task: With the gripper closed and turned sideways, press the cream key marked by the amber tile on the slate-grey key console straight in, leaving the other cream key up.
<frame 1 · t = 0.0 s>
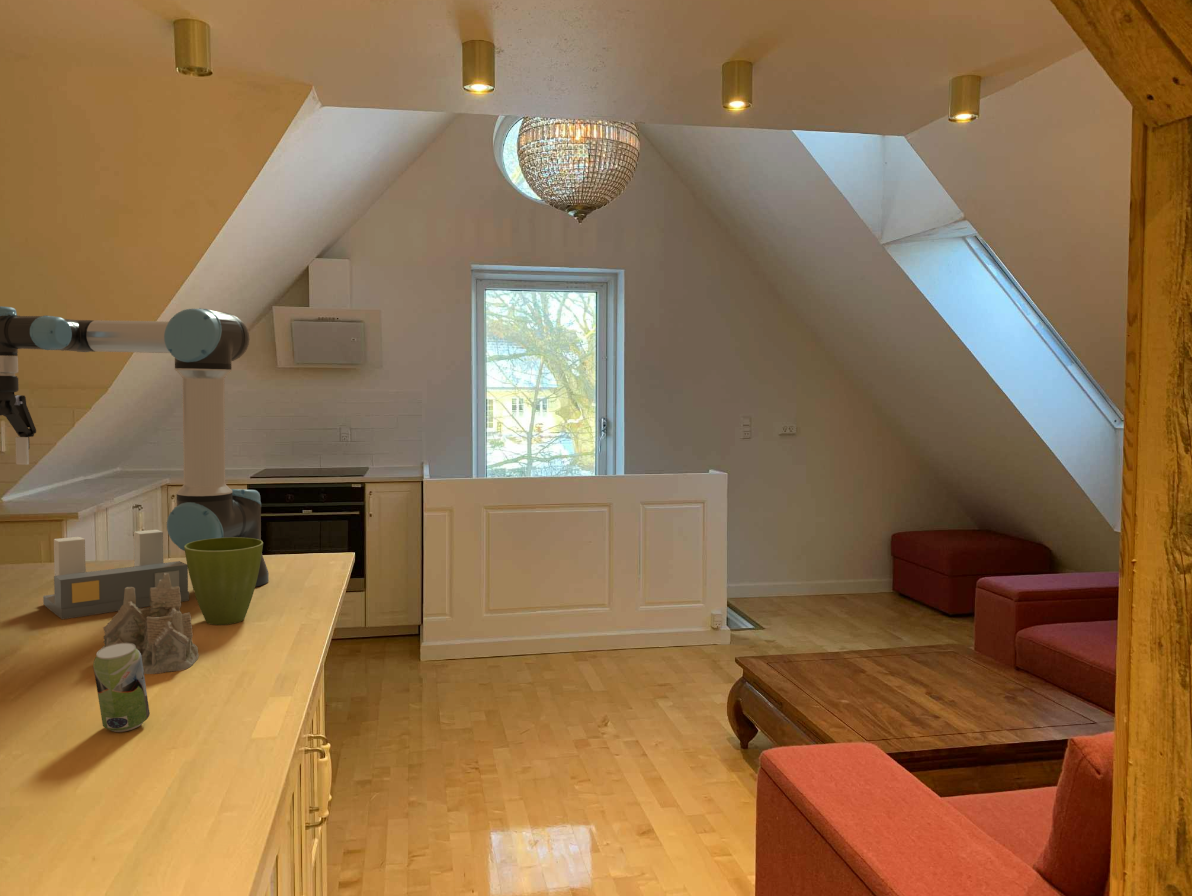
hand: (1, 467, 207), 28 cm above the worktop, fingers open, 13 cm apart
key 2: (148, 557, 205), point 8 cm above the worktop, slide at 0.0 cm
key console: (116, 602, 197), on the worktop
ceramic cottage: (147, 662, 158), on the worktop
flower pot: (224, 621, 185), on the worktop
key 1: (69, 566, 194), point 8 cm above the worktop, slide at 0.0 cm
beverage can: (122, 729, 128), on the worktop
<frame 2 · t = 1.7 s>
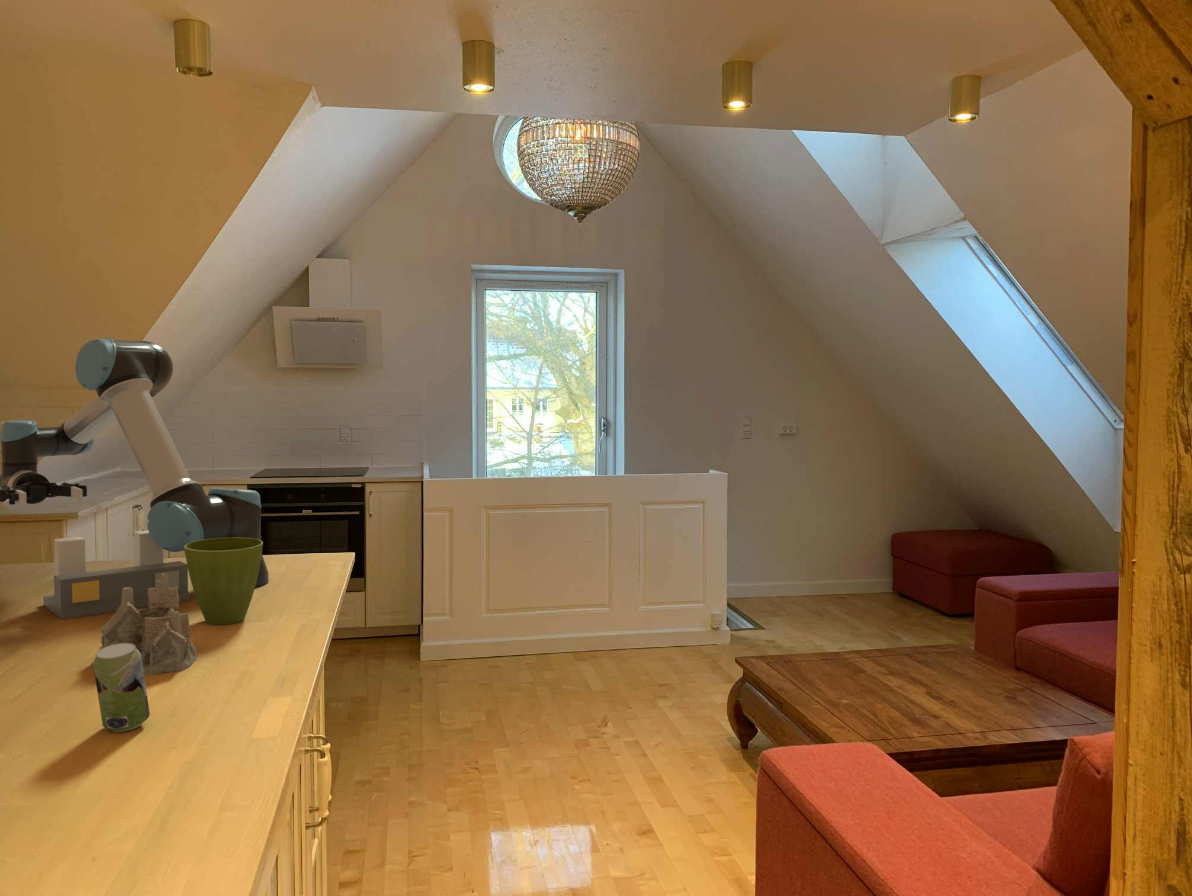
hand: (53, 497, 202), 22 cm above the worktop, fingers open, 10 cm apart
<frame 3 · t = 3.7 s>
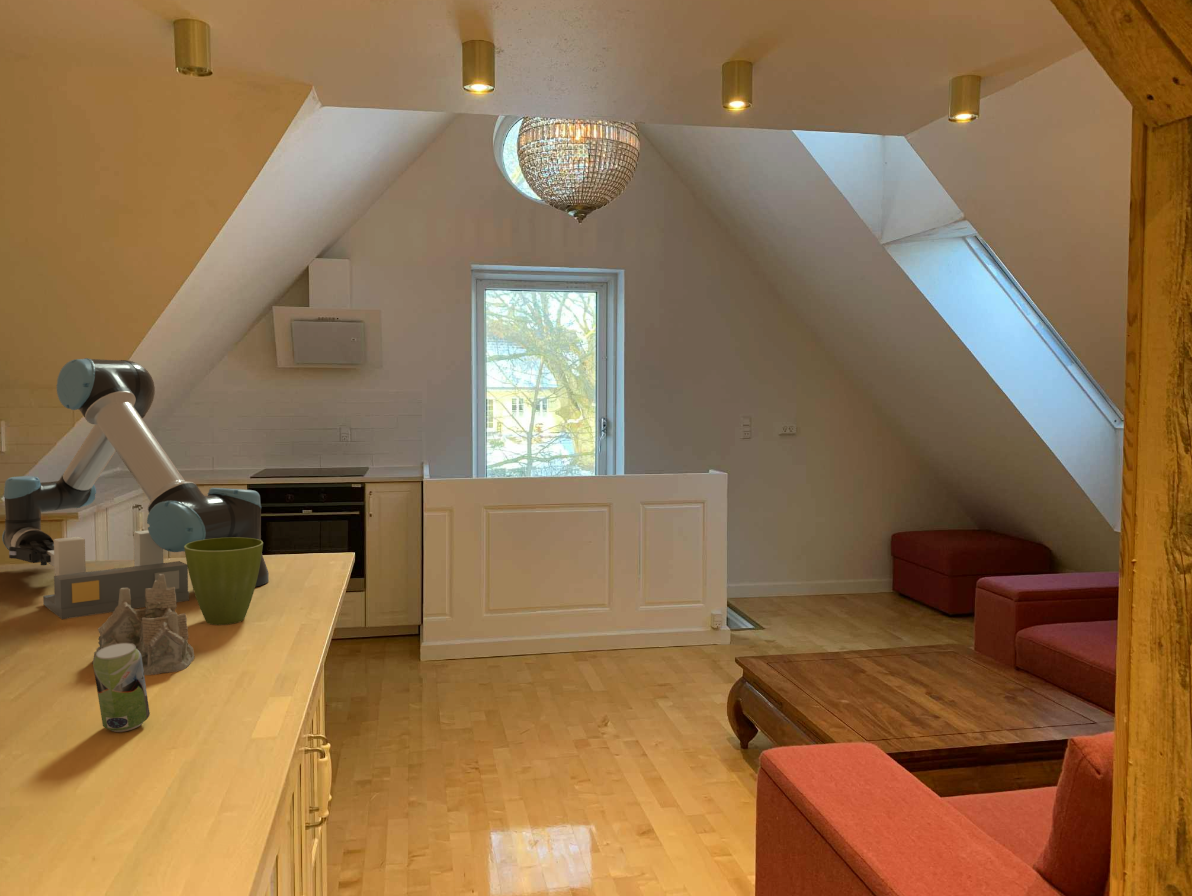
hand: (58, 560, 201), 8 cm above the worktop, fingers closed
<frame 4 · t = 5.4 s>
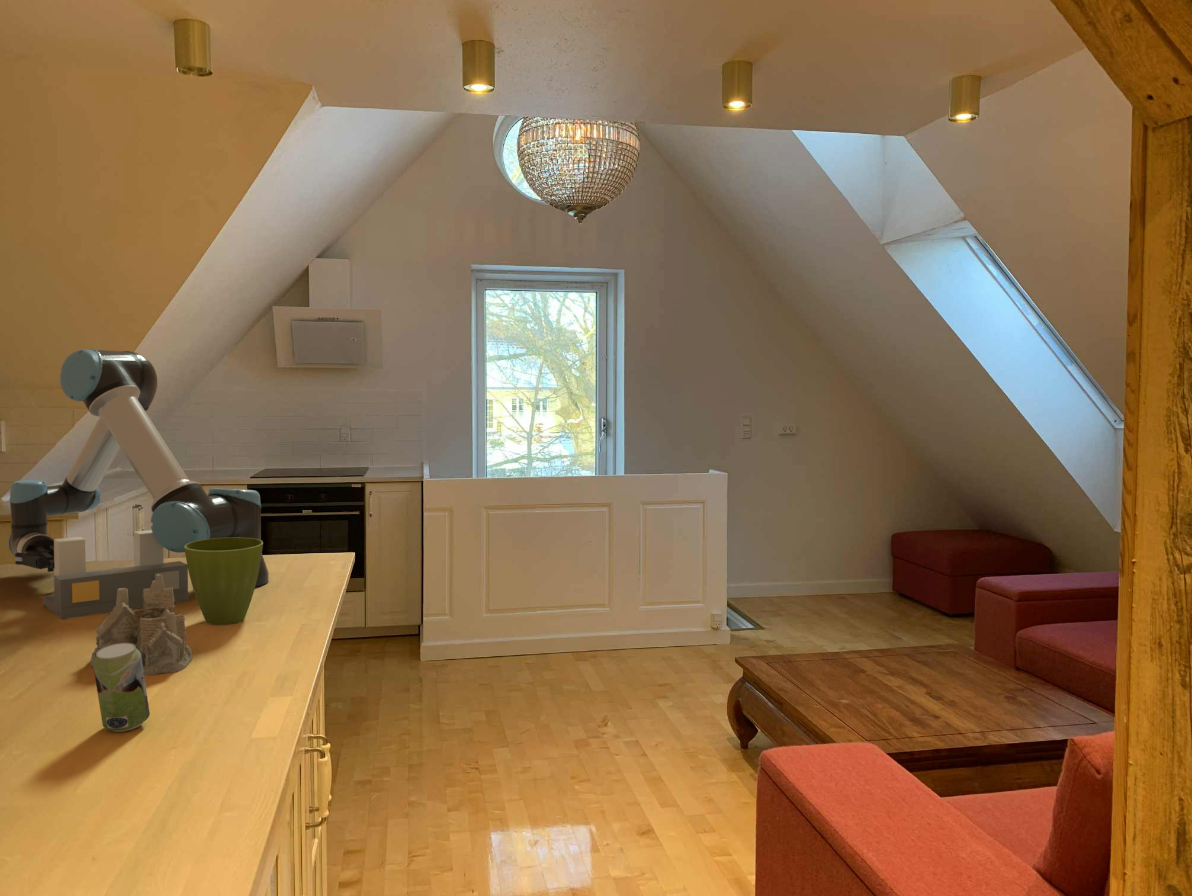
hand: (65, 567, 195), 8 cm above the worktop, fingers closed
key 1: (70, 566, 194), point 8 cm above the worktop, slide at 0.1 cm, touching gripper
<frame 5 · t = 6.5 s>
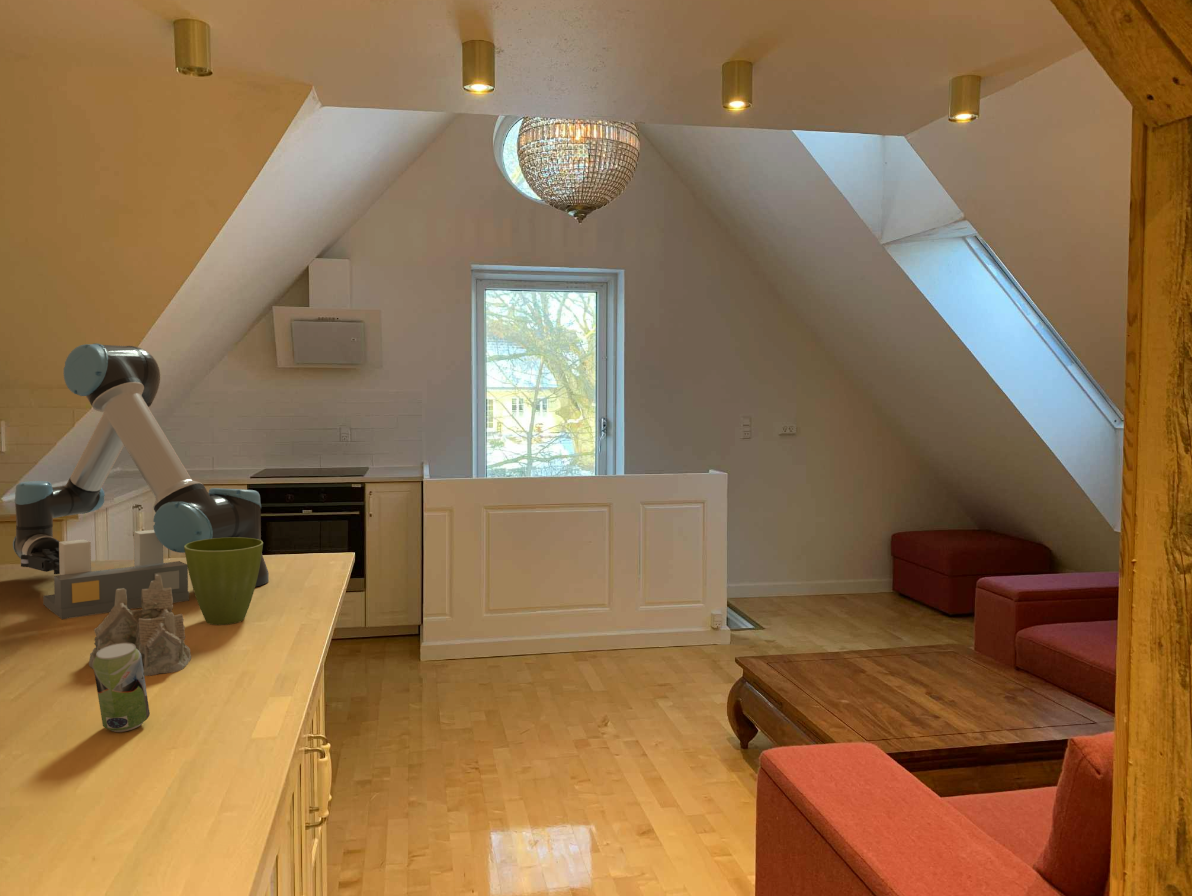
hand: (72, 569, 193), 8 cm above the worktop, fingers closed
key 1: (75, 569, 191), point 8 cm above the worktop, slide at 4.3 cm, touching gripper
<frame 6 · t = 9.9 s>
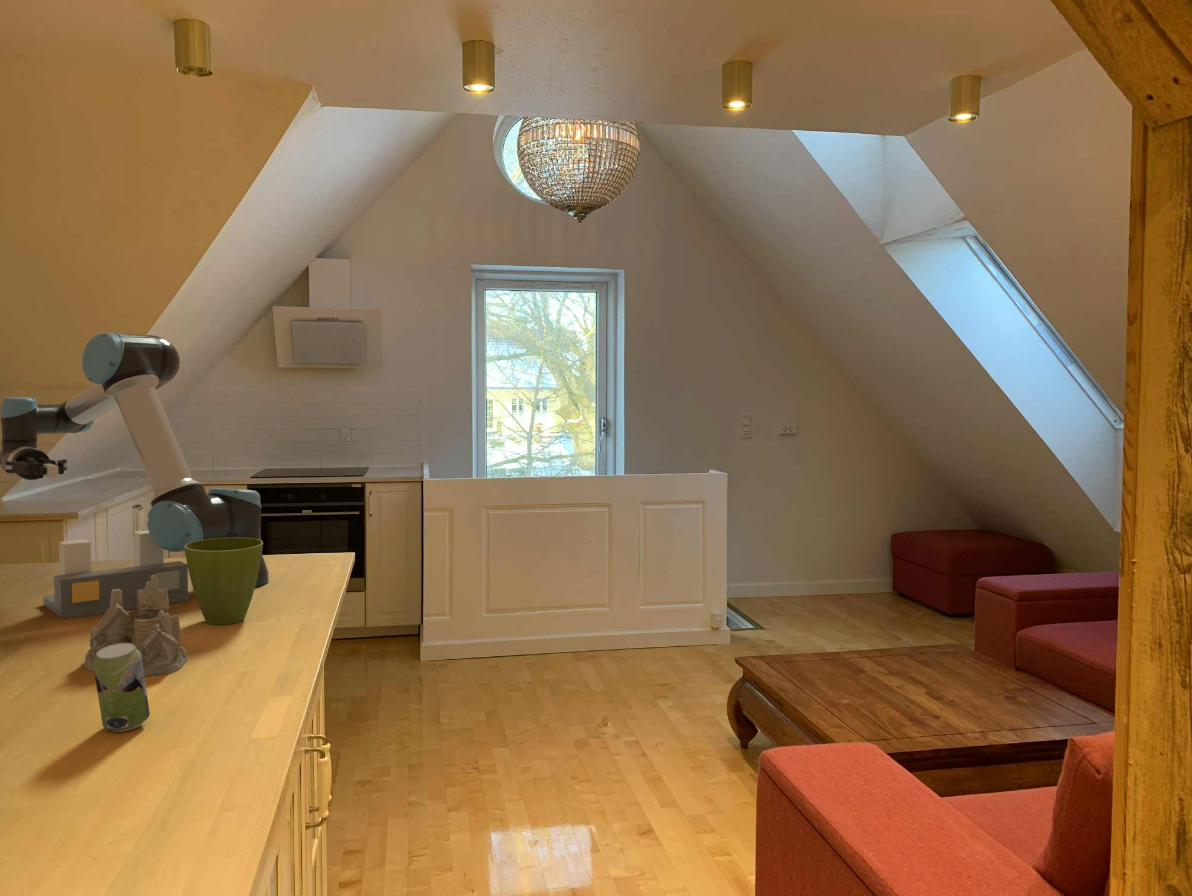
hand: (54, 472, 201), 28 cm above the worktop, fingers closed
key 1: (75, 569, 191), point 8 cm above the worktop, slide at 4.2 cm
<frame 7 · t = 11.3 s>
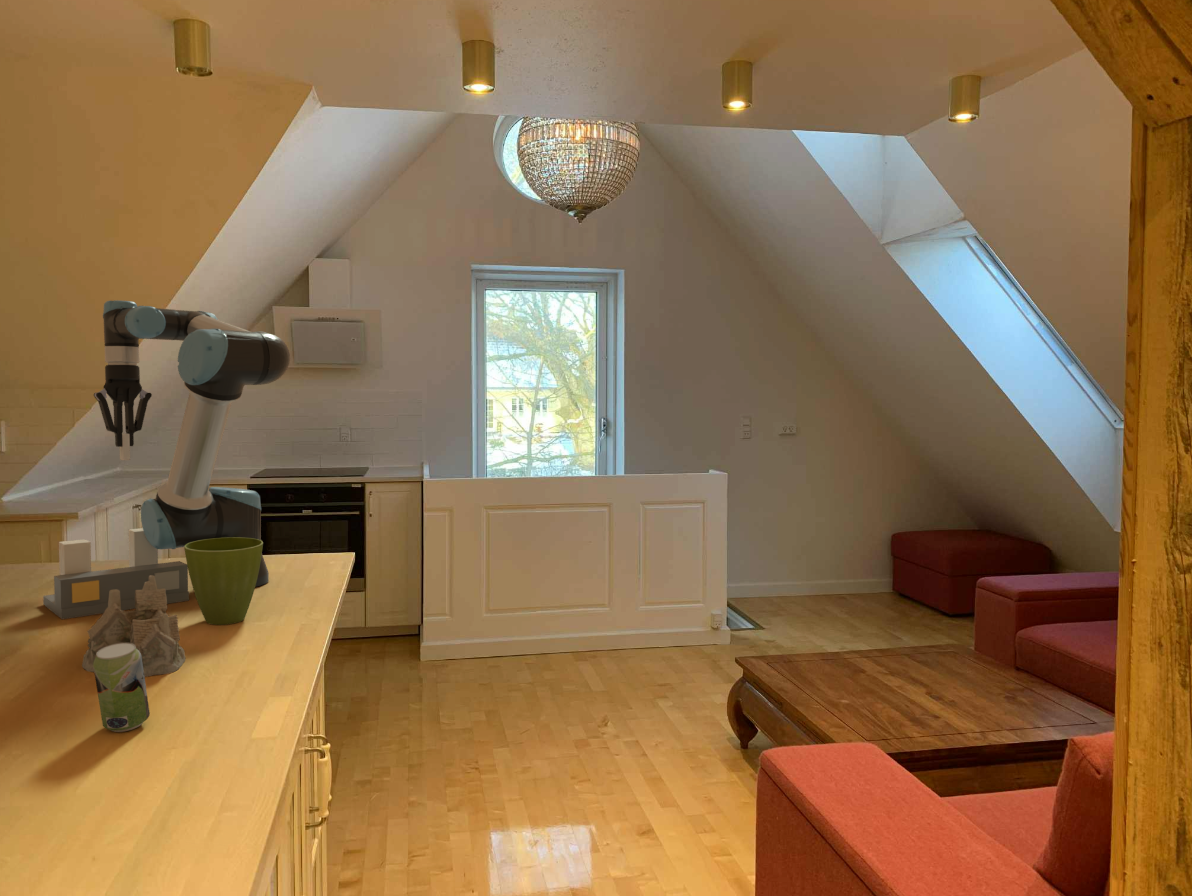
hand: (125, 459, 223), 29 cm above the worktop, fingers closed
key 2: (143, 555, 208), point 8 cm above the worktop, slide at -3.7 cm, touching arm
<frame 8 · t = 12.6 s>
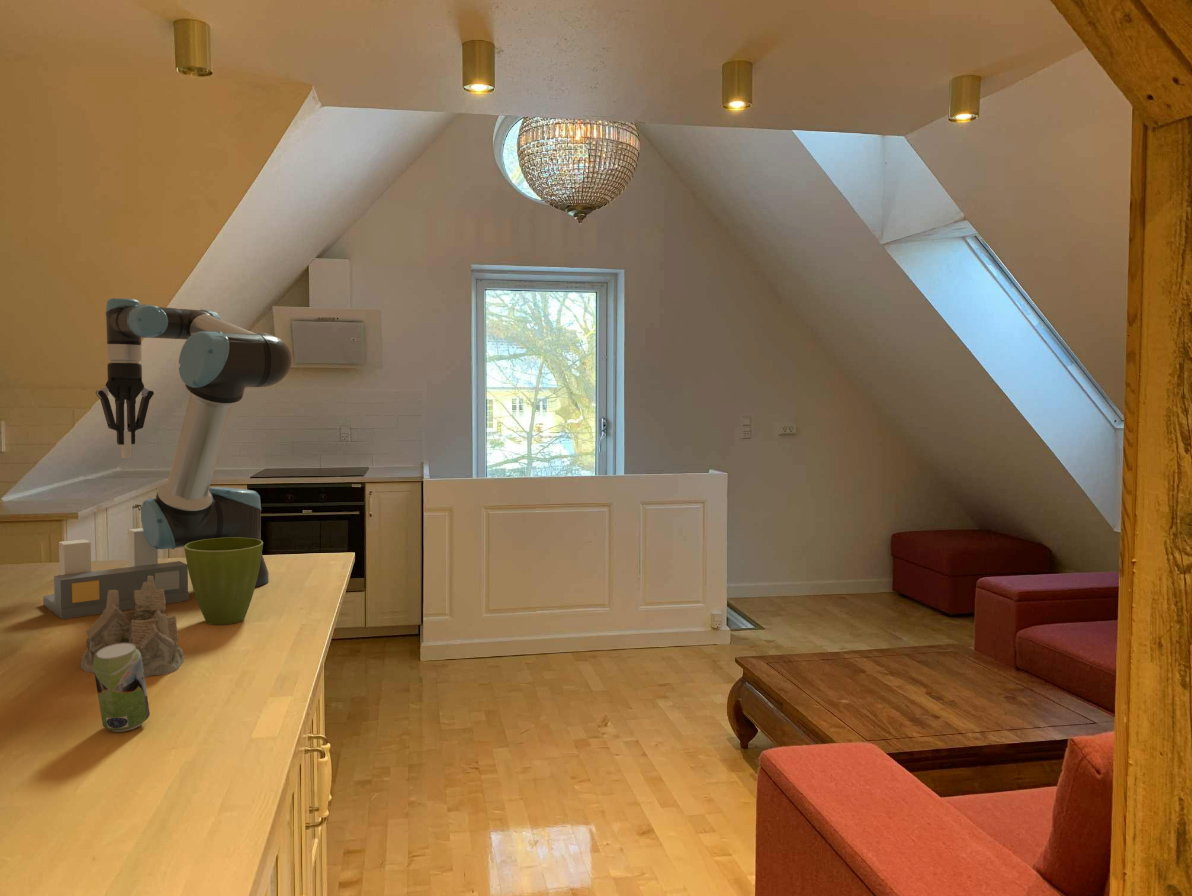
hand: (126, 457, 223), 29 cm above the worktop, fingers closed
at the end: key 1 slide at 4.2 cm; key 2 slide at -3.8 cm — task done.
